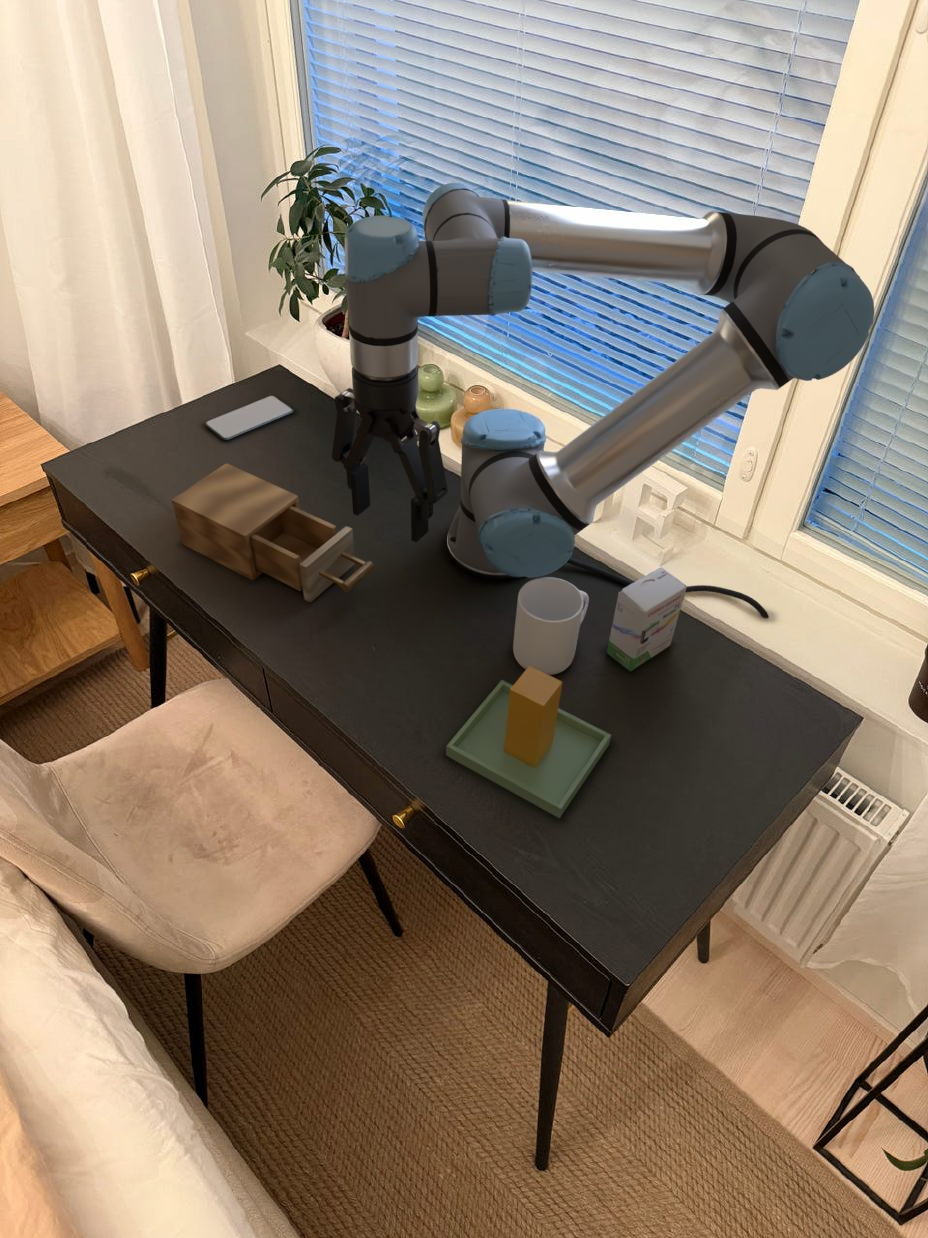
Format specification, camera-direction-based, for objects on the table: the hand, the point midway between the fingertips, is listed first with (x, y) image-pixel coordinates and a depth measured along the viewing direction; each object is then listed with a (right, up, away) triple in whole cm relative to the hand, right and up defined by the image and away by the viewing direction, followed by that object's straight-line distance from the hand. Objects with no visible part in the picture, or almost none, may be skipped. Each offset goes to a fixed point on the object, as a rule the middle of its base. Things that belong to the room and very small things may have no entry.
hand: (390, 522), depth 116 cm
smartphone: (-30, +24, +48) cm, 61 cm away
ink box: (+34, -17, +9) cm, 39 cm away
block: (+18, -29, -4) cm, 34 cm away
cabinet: (-25, -1, +23) cm, 34 cm away
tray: (+18, -29, -4) cm, 34 cm away
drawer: (-13, -6, +17) cm, 22 cm away
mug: (+22, -17, +9) cm, 29 cm away
